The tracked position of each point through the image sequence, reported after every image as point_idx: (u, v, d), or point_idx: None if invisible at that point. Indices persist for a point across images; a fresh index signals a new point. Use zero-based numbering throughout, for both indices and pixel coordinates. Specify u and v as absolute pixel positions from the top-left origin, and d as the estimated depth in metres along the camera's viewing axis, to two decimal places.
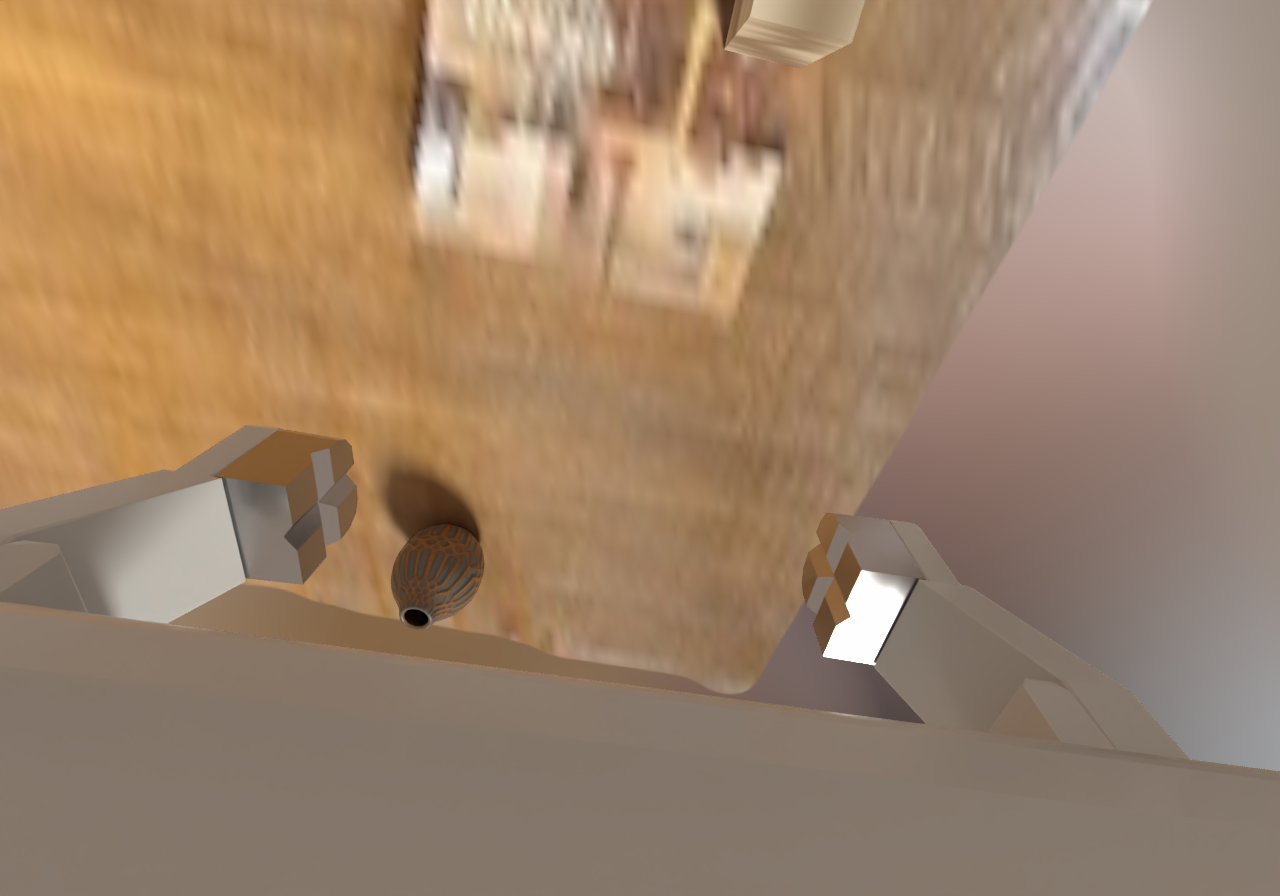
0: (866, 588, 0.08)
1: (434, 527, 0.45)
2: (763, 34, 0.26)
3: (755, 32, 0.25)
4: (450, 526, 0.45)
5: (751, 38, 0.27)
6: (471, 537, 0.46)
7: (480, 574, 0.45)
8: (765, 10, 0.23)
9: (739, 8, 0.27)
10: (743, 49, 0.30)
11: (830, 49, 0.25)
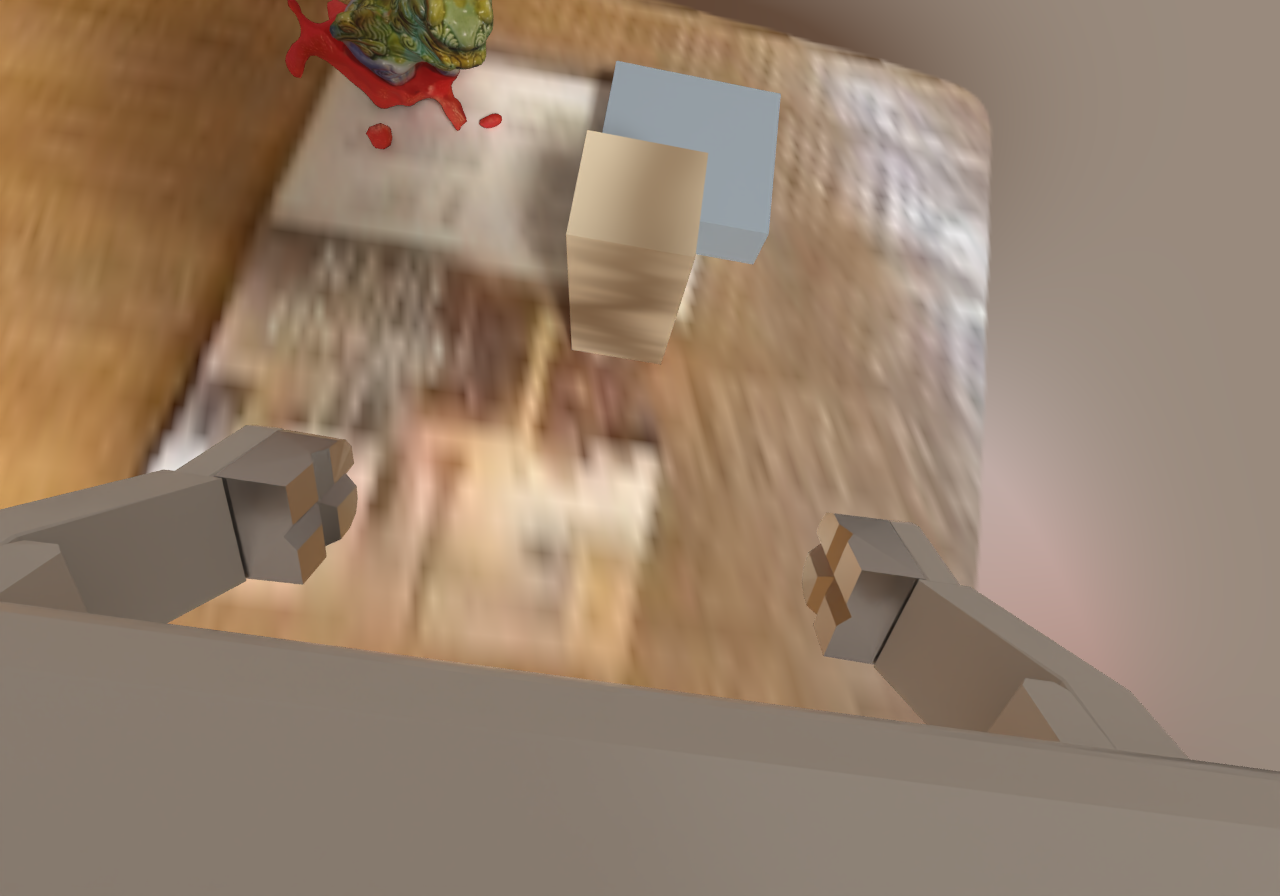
0: (866, 588, 0.08)
1: None
2: (596, 284, 0.21)
3: (586, 281, 0.21)
4: None
5: (588, 303, 0.23)
6: None
7: None
8: (584, 229, 0.19)
9: None
10: (590, 339, 0.26)
11: (677, 292, 0.21)
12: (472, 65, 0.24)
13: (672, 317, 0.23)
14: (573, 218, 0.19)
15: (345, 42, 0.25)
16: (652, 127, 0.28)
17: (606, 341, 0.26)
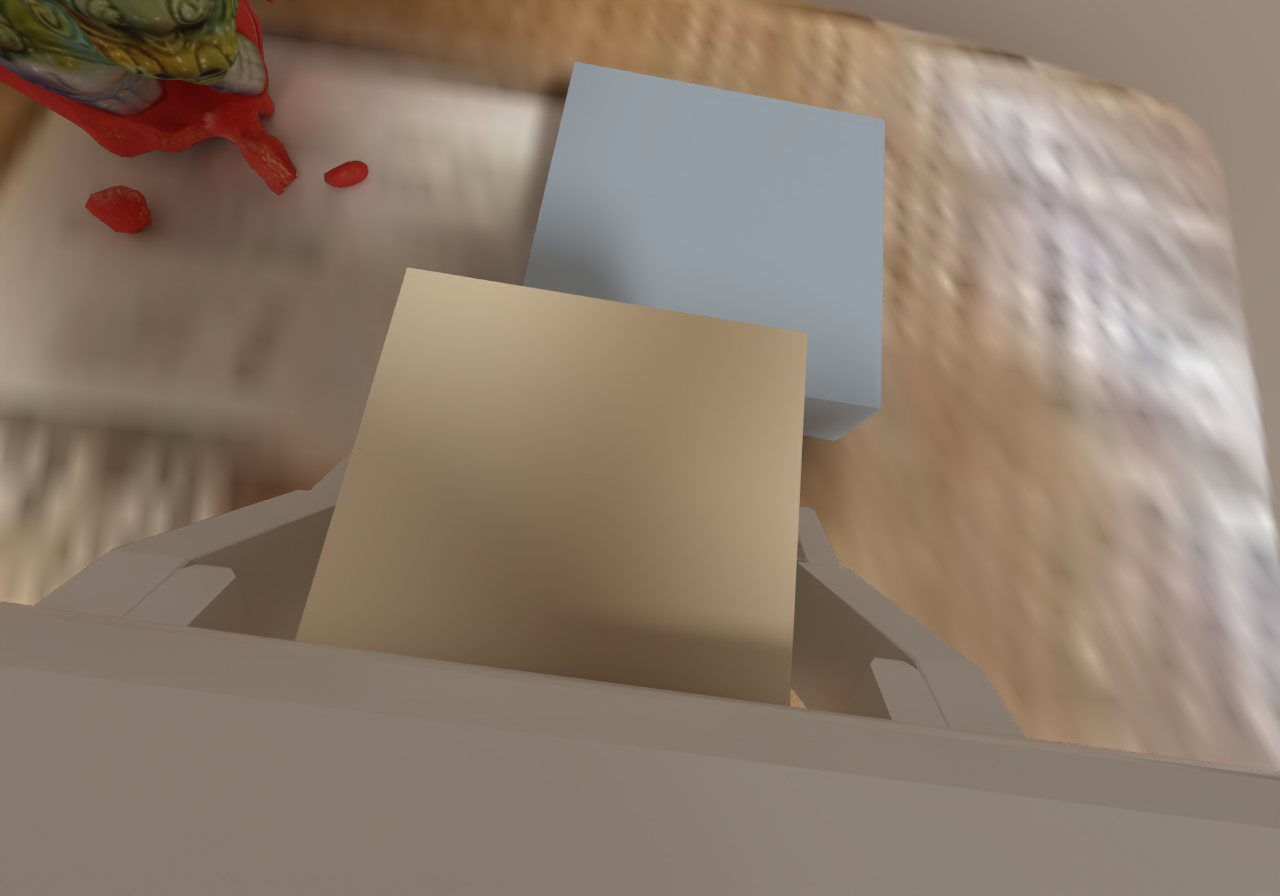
0: None
1: None
2: None
3: None
4: None
5: None
6: None
7: None
8: None
9: None
10: None
11: None
12: (199, 70, 0.10)
13: None
14: (312, 637, 0.05)
15: None
16: (641, 190, 0.14)
17: None
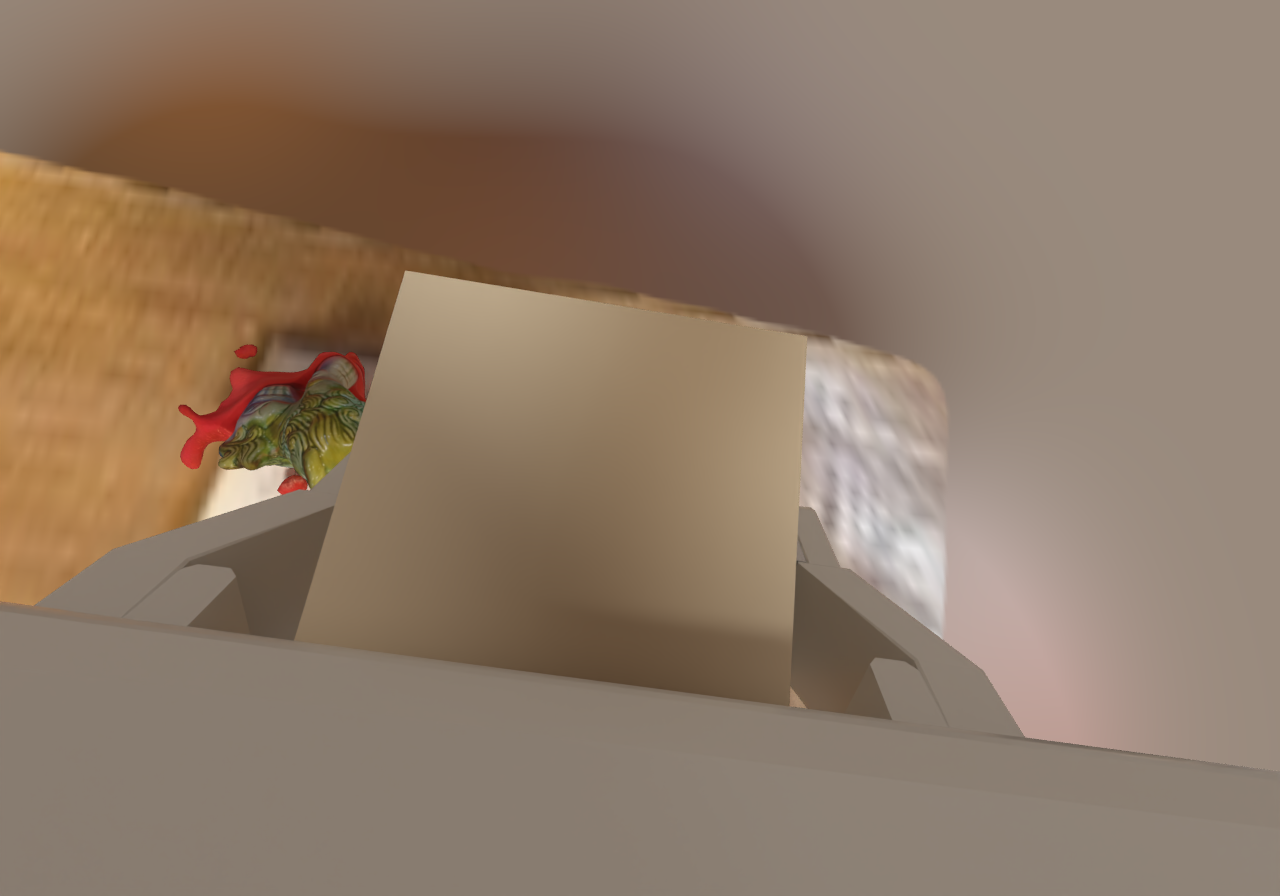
0: None
1: None
2: None
3: None
4: None
5: None
6: None
7: None
8: None
9: None
10: None
11: None
12: None
13: None
14: (309, 642, 0.05)
15: None
16: None
17: None
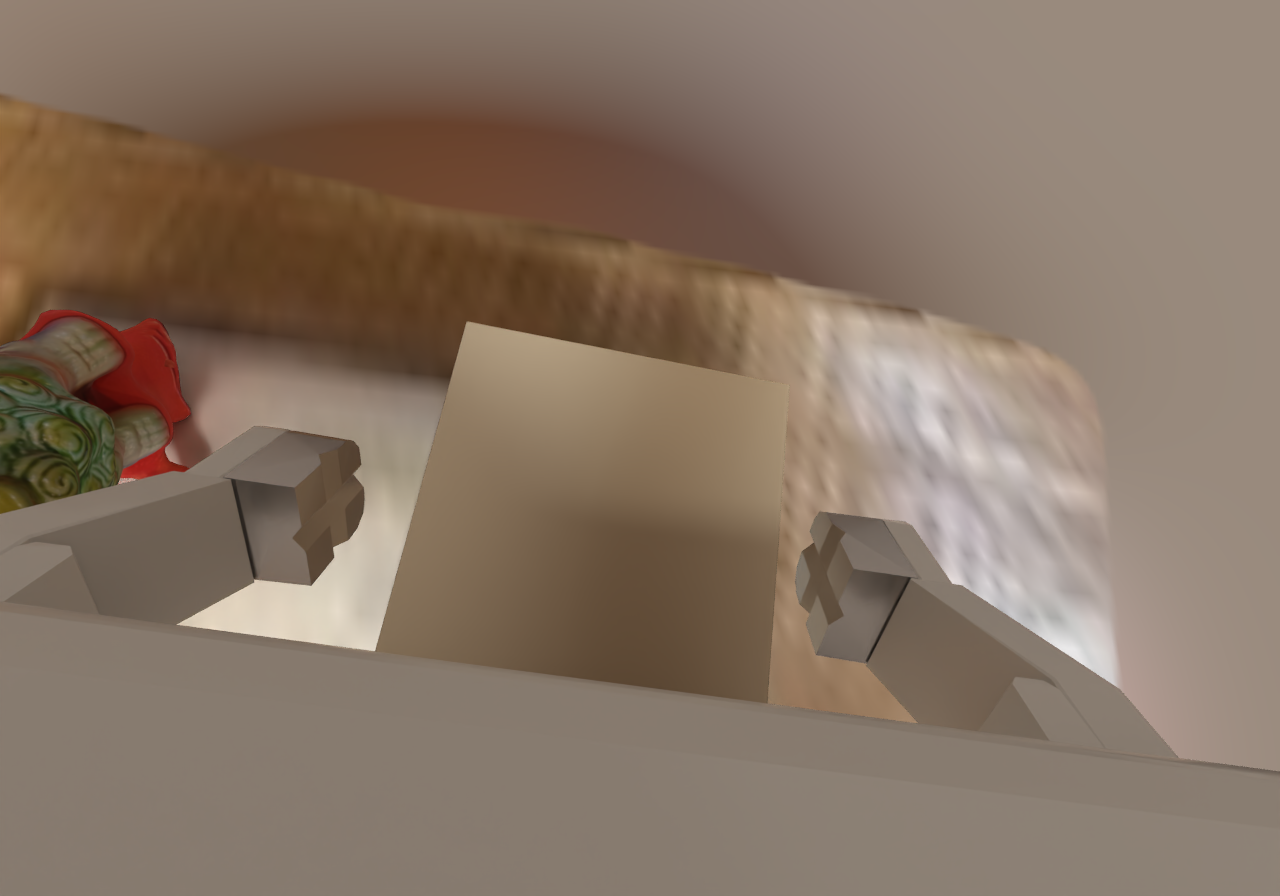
0: (858, 587, 0.08)
1: None
2: None
3: None
4: None
5: None
6: None
7: None
8: None
9: None
10: None
11: None
12: None
13: None
14: (396, 622, 0.06)
15: None
16: None
17: None
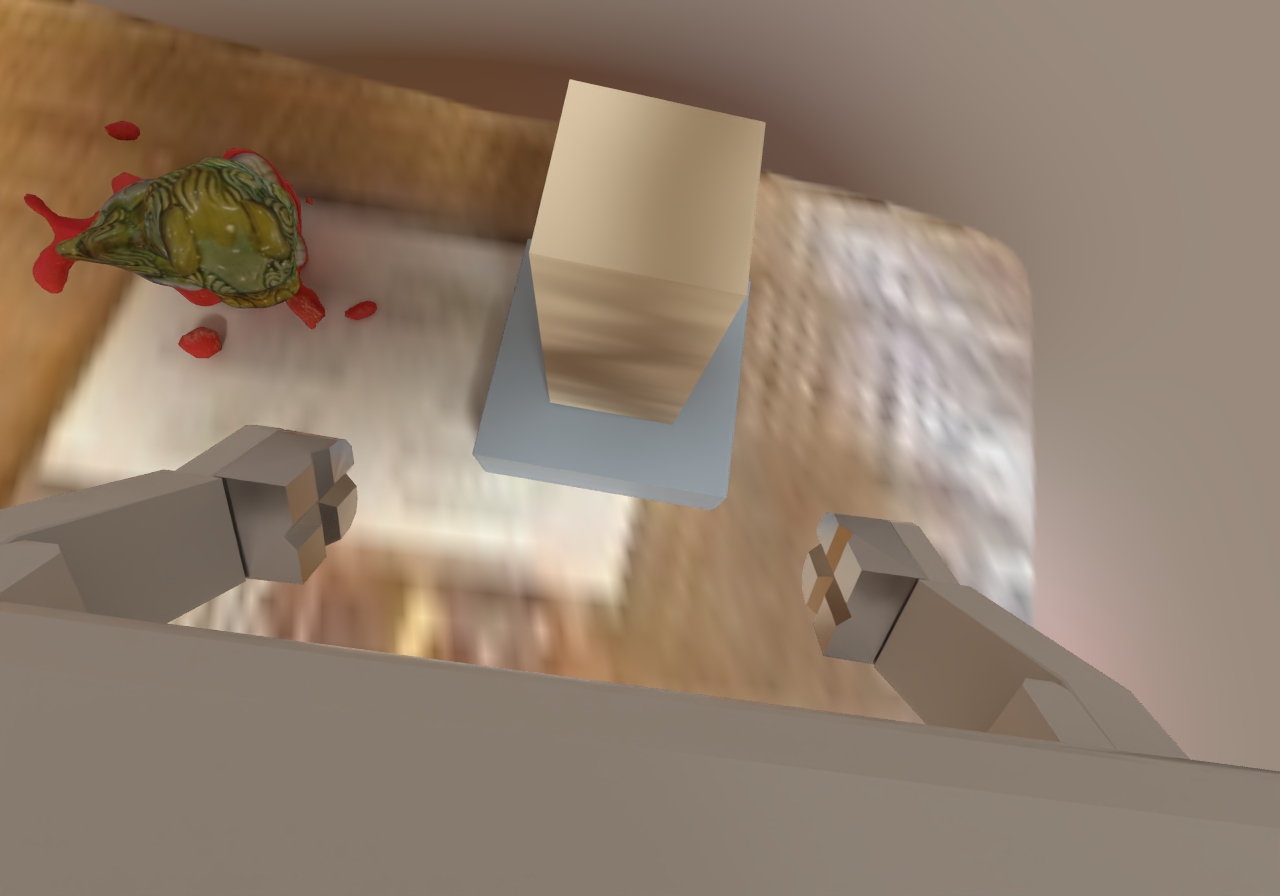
0: (866, 588, 0.08)
1: None
2: (582, 327, 0.14)
3: (566, 323, 0.14)
4: None
5: (570, 350, 0.15)
6: None
7: None
8: (560, 244, 0.11)
9: None
10: (574, 393, 0.18)
11: (708, 343, 0.14)
12: (275, 302, 0.16)
13: (696, 373, 0.15)
14: (542, 226, 0.11)
15: None
16: None
17: (597, 396, 0.18)
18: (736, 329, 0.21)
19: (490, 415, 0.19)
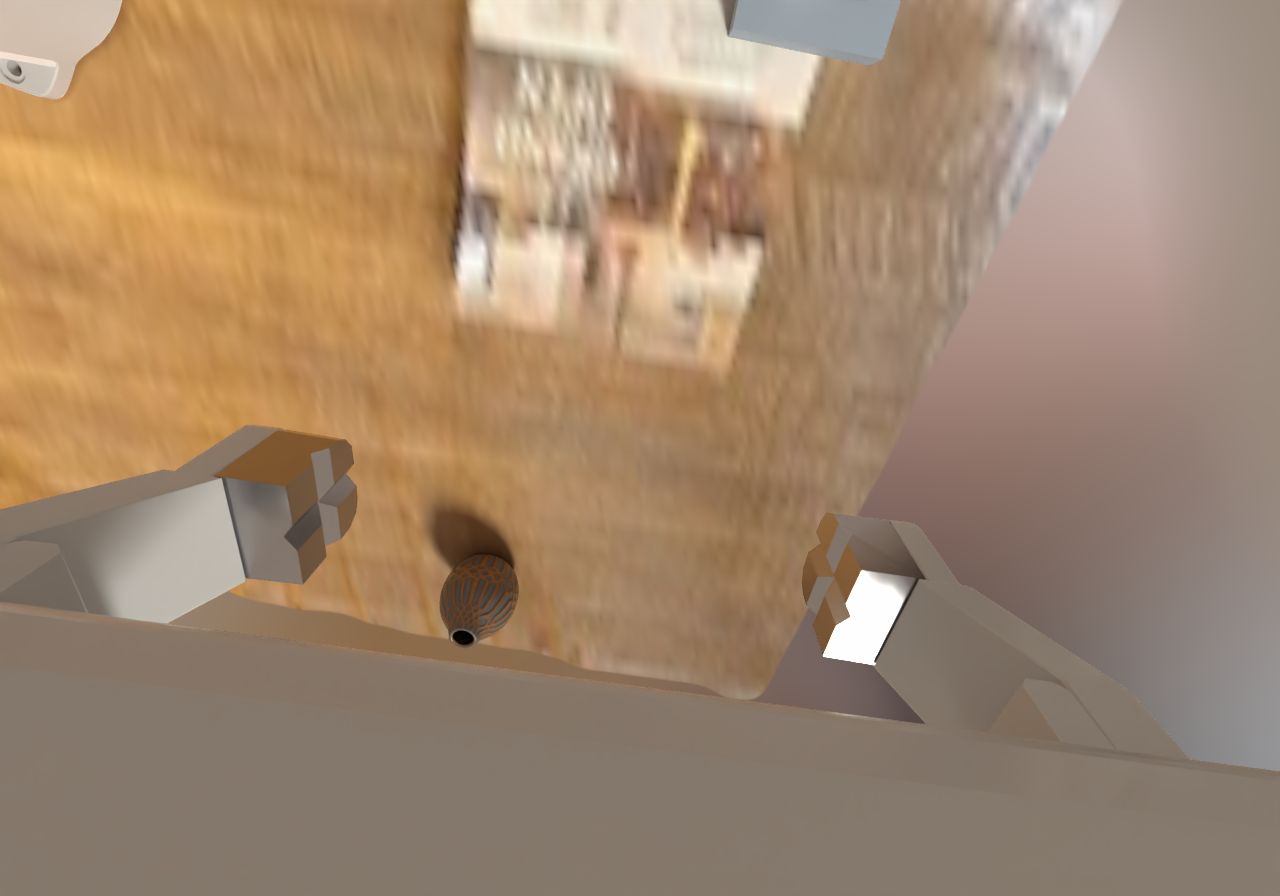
0: (866, 588, 0.08)
1: (475, 557, 0.51)
2: None
3: None
4: (488, 556, 0.52)
5: None
6: (507, 565, 0.52)
7: (515, 598, 0.51)
8: None
9: None
10: None
11: None
12: None
13: None
14: None
15: None
16: None
17: None
18: None
19: None
